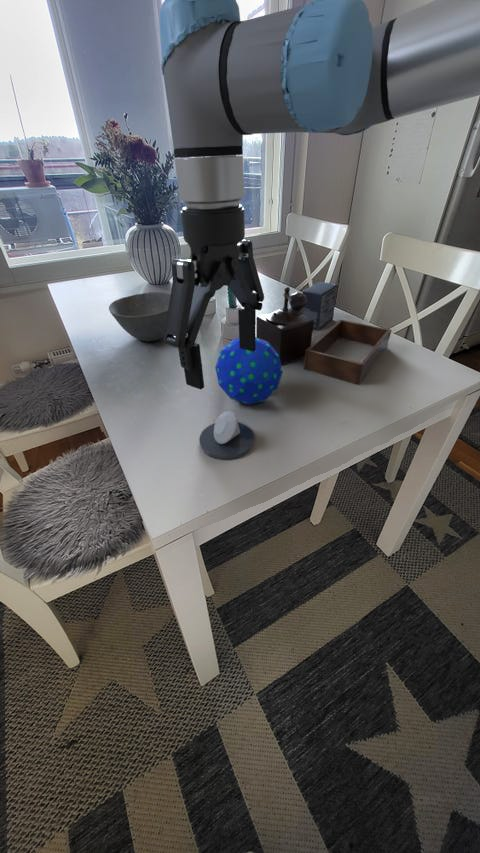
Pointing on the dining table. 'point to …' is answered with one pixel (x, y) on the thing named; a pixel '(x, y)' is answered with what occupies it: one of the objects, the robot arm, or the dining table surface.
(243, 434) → the coaster
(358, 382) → the open box
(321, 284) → the small box
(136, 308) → the bowl
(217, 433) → the gemstone
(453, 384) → the dining table surface
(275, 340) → the pepper mill
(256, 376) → the blue polka dot ball
